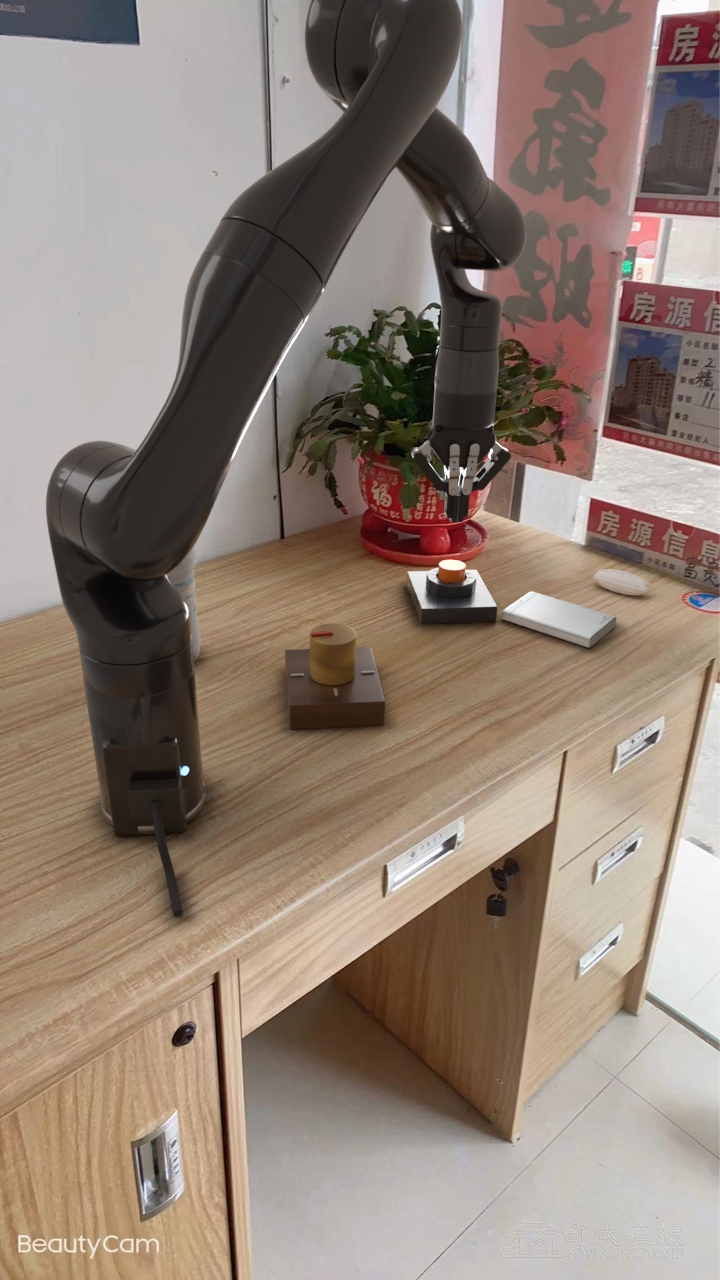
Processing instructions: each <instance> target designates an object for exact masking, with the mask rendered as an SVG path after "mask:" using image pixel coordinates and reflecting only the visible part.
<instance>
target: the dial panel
mask: <svg viewBox="0 0 720 1280" xmlns="http://www.w3.org/2000/svg"><path fill="white" fill-rule="evenodd" d="M284 659H285V681H286V682H285V683H286V695H287V697H286V698H287V708H288V719H289V720H288V722H289V723H288V724H289V730H304V729H305V730H306V729H308V730H309V729H328V728H329V729H330V728H351V727H352V728H353V727H371V726H372V727H374V726H384V725H385V711H386V700H385V697H384V693H383V689H382V684H381V681H380V677H379V673H378V669H377V666H376V661H375V657H374V653H373V650H372V647H371V646H363V647H362V646H359V647H357V646H356V668H355V677H354V678H353V679H352V680H351V681H350V682H348V683H345V684H341V685H324V684H320V683H318V682H316V681H314V680H313V679H312V678H311V676H310V648H302V649H301V648H300V649H299V648H298V649H285V650H284Z"/></svg>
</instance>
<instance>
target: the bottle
mask: <svg viewBox="0 0 720 1280" xmlns="http://www.w3.org/2000/svg"><path fill="white" fill-rule="evenodd" d="M196 556H197V551H196V547H195V546H194V547H193V548H192V550H191V551H190V553H189V554H188V555H187V557H186V558H185V559H184V560H183V561H182V562H181V563H180V564H179V565H178V566H177V567H176V568H175V569H174V570H172V571H171V572H170V573H168V574H167V575H168V577H169V579H170V580H171V582H172V583H173V585H174V586H175V587H176V589H177V590H178V591H179V593H180V594H181V595H182V596H183V598H184V599H185V601H186V603H187V605H188V607H189V611H190V617H191V629H192V644H193V657H194V662H195V661H196V660H197V659H198V658H199V655H200V652H201V641H202V640H201V631H200V623H199V617H198V612H197V611H198V610H197V597H196V584H195V583H196V582H195V572H194V571H195V570H194V569H195V568H196V565H197V560H196Z"/></svg>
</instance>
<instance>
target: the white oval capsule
mask: <svg viewBox="0 0 720 1280" xmlns="http://www.w3.org/2000/svg"><path fill="white" fill-rule="evenodd" d="M593 581H594V582H595V583H596V584H598V585H599V586H600V587H602V588H604V589H606V590H609V591H611V592H614V593H617V594H622V595H628V596H642V595H646V594H648V592H650V591H652V585H651V583H650V582H649V581H647V580H646V579H644V578H643V577H640V576H638V575H636V574H634V573H632V572H628V571H624V570H621V569H610V568H607V569H603V568H601V569H599V570H598V571H597V572H596V573H594V575H593Z"/></svg>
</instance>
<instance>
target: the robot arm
mask: <svg viewBox="0 0 720 1280" xmlns="http://www.w3.org/2000/svg"><path fill="white" fill-rule="evenodd" d="M462 16H463V15H462V11H461V8H460V5H459V3H458V0H310V3H309V6H308V10H307V14H306V19H305V26H304V51H305V56H306V61H307V64H308V68H309V71H310V72H311V76H312V77H313V79H314V81H315V83H316V85H317V86H318V88H319V89H320V90H321V91H322V92H323V94H325V96H326V97H327V98H328V100H330V101H331V102H332V103H333V104H334V105H335V106H336V107H337V108H339V109H340V111H341V112H342V114H341V115H340V117H338V119H337V120H335V122H334V123H333V124H332V126H330V128H329V129H327V130H326V132H324V133H323V134H322V135H321V136H320V137H318V138H317V139H316V140H315V141H313V142H312V143H310V144H309V145H308V146H307V147H305V148H303V149H302V150H300V151H299V152H297V153H295V154H294V155H293V156H290V157H289V158H288V159H286V160H285V161H283V162H282V163H280V164H279V165H277V166H275V167H274V168H273V169H271V170H270V171H269V172H267V173H266V174H264V175H263V176H261V177H260V178H258V179H257V180H256V181H255V182H253V183H252V184H251V185H250V186H248V187H247V188H246V189H244V191H242V193H240V195H238V196H237V197H236V198H235V199H234V200H233V202H231V204H230V205H229V206H228V208H227V210H226V211H225V212H224V214H223V216H222V217H221V219H220V221H219V223H218V225H217V226H216V228H215V230H214V231H213V234H212V235H211V237H210V239H209V240H208V243H207V244H206V246H205V247H204V249H203V251H202V253H201V255H200V256H199V258H198V260H197V263H196V264H195V266H194V268H193V270H192V272H191V275H190V277H189V280H188V283H187V286H186V291H185V295H184V300H183V307H182V316H181V326H180V327H181V328H180V344H179V354H178V362H177V369H176V372H175V377H174V380H173V383H172V386H171V388H170V391H169V393H168V395H167V397H166V399H165V401H164V404H163V405H162V407H161V408H160V410H159V412H158V414H157V416H156V418H155V420H154V421H153V423H152V425H151V426H150V428H149V430H148V432H147V434H146V435H145V437H144V438H143V440H142V441H141V443H140V444H139V445H138V447H137V449H135V448H132V447H129V446H127V445H124V444H121V443H118V442H114V441H109V440H91V441H88V442H87V441H86V442H84V443H81V444H78V445H77V446H75V447H73V448H71V449H70V450H69V451H67V452H66V453H65V454H64V455H63V456H61V458H60V459H59V460H58V462H57V463H56V465H55V467H54V468H53V471H52V472H51V475H50V478H49V481H48V483H47V488H46V496H45V517H46V524H47V532H48V537H49V542H50V543H49V544H50V549H51V554H52V558H53V564H54V569H55V573H56V579H57V583H58V588H59V593H60V598H61V600H62V605H63V607H64V610H65V612H66V614H67V616H68V618H69V621H70V622H71V624H72V626H73V627H74V630H75V634H76V638H77V644H78V651H79V657H80V665H81V671H82V678H83V686H84V692H85V700H86V706H87V707H86V708H87V712H88V713H87V714H88V720H89V727H90V733H91V740H92V747H93V753H94V761H95V767H96V773H97V780H98V785H99V792H100V807H101V813H102V817H103V818H104V819H105V821H106V822H107V823H108V824H110V826H111V827H112V829H113V830H112V831H113V835H114V836H115V837H123V836H124V837H125V836H138V835H139V836H140V835H141V836H142V835H145V836H146V835H155V840H156V846H157V849H158V853H159V857H160V860H161V864H162V868H163V872H164V875H165V879H166V880H165V881H166V884H167V889H168V893H169V898H170V899H169V900H170V904H171V909H172V915H173V916H174V917H175V918H179V917H181V916H182V915H184V911H183V907H182V906H183V905H182V902H181V896H180V891H179V886H178V882H177V878H176V874H175V869H174V866H173V862H172V859H171V855H170V852H169V848H168V844H167V840H166V834H177V833H184V832H185V831H186V829H187V824H188V823H189V822H191V821H192V820H193V819H195V817H197V816H198V815H199V814H200V812H201V811H202V809H203V808H204V806H205V803H206V797H207V796H206V794H207V793H206V785H205V781H204V771H203V770H204V769H203V760H202V748H201V747H202V746H201V736H200V721H199V710H198V698H197V696H198V695H197V686H196V685H197V684H196V675H195V661H194V657H193V644H192V629H191V617H190V611H189V607H188V605H187V603H186V601H185V599H184V598H183V596H182V595H181V594H180V593H179V591H178V590H177V589H176V587H175V586H174V585H173V583H172V582H171V580H170V579H169V577H168V575H167V574H168V573H170V572H171V571H172V570H174V569H175V568H176V567H177V566H178V565H179V564H180V563H181V562H182V561H183V560H184V559H185V558H186V557H187V555H188V554H189V553H190V551H191V550H192V548H193V547H195V545H196V544H197V542H198V540H199V538H200V536H201V534H202V533H203V530H204V528H205V526H206V524H207V522H208V520H209V518H210V516H211V513H212V510H213V508H214V506H215V503H216V501H217V499H218V496H219V495H220V492H221V489H222V487H223V484H224V482H225V479H226V478H227V475H228V472H229V470H230V468H231V466H232V463H233V461H234V459H235V456H236V454H237V452H238V449H239V447H240V445H241V443H242V441H243V439H244V437H245V434H246V432H247V430H248V428H249V427H250V424H251V422H252V421H253V418H254V417H255V415H256V412H257V411H258V409H259V407H260V405H261V403H262V401H263V400H264V398H265V396H266V394H267V392H268V390H269V388H270V386H271V384H272V382H273V381H274V378H275V376H277V375H276V374H277V372H278V371H279V369H280V367H281V365H282V363H283V361H284V359H285V358H286V356H287V354H288V352H289V351H290V350H291V347H292V346H293V344H294V343H295V341H296V340H297V338H298V337H299V334H300V333H301V331H302V330H303V328H304V326H305V325H306V323H307V321H308V320H309V317H310V315H311V314H312V312H313V310H314V309H315V307H316V305H317V304H318V302H319V299H320V298H321V296H322V294H323V292H324V290H325V288H326V286H327V285H328V282H329V281H330V279H331V276H332V274H333V272H334V271H335V269H336V267H337V264H338V263H339V261H340V259H341V257H342V255H343V254H344V251H345V250H346V248H347V247H348V244H349V243H350V241H351V239H352V237H353V235H354V234H355V232H356V230H357V228H358V227H359V226H360V223H361V222H362V220H363V219H364V217H365V215H366V213H367V212H368V210H369V209H370V206H371V205H372V203H373V202H374V200H375V198H376V197H377V195H378V193H379V192H380V190H381V189H382V187H383V186H384V184H385V183H386V181H387V180H388V178H389V177H390V175H392V173H393V171H394V170H395V169H396V171H397V172H398V173H399V174H400V175H401V177H402V178H403V180H404V181H405V182H406V184H407V185H408V187H409V189H410V190H411V191H412V193H413V195H414V196H415V198H416V200H417V201H418V203H419V205H420V206H421V208H422V209H423V211H424V213H425V215H426V216H427V218H428V220H429V221H430V222H431V225H430V230H429V243H430V249H431V251H430V252H431V256H432V260H433V265H434V270H435V275H436V281H437V285H438V292H439V293H438V294H439V300H440V311H441V313H440V314H441V315H440V332H439V345H438V346H439V347H438V354H437V358H436V363H435V374H434V378H433V379H434V381H433V382H434V393H433V394H434V395H433V396H434V397H433V412H432V413H433V414H432V425H431V426H432V427H431V429H430V431H429V433H428V434H427V440H426V441H425V442H424V443H423V444H422V445H420V446H419V447H417V446H416V447H412V448H411V450H410V455H411V457H412V458H413V460H414V462H415V463H416V464H417V465H418V467H419V469H421V471H422V472H423V474H424V475H425V476H426V478H427V480H428V481H429V482H430V483H431V485H432V486H433V487H434V489H435V490H436V491H437V492H443V493H444V509H443V511H444V514H445V516H446V518H447V519H448V520H449V521H450V523H463V522H464V519H466V518H467V517H468V516H469V508H470V497H471V494H472V493H473V492H475V491H483V490H485V489H486V487H488V485H489V484H490V483H491V482H492V481H493V479H494V478H495V477H496V476H497V475H498V473H500V471H501V470H502V469H503V468H504V467H505V465H507V464H508V462H509V461H510V460H511V458H512V454H511V452H510V451H509V450H508V449H507V448H506V447H505V446H502V445H500V444H499V442H497V435H496V433H495V430H494V425H495V417H496V416H495V415H496V405H497V404H496V403H497V395H498V384H499V374H500V358H499V356H500V355H499V354H500V353H499V351H500V350H499V349H500V348H499V347H500V336H501V329H502V328H501V326H502V317H503V304H502V301H501V299H500V298H499V297H498V296H497V295H495V294H493V293H490V292H487V291H483V290H481V289H479V288H477V287H475V286H473V285H472V283H471V282H470V280H469V278H468V275H467V272H466V270H471V271H487V272H502V271H506V270H508V269H510V268H511V267H513V266H514V265H515V264H517V262H518V261H519V260H520V258H521V257H522V255H523V253H524V250H525V247H526V244H527V243H526V242H527V226H526V222H525V218H524V217H525V216H524V214H523V212H522V210H521V208H520V206H519V205H518V203H517V202H516V201H515V200H514V198H513V197H512V196H511V195H510V194H508V192H506V191H505V190H504V188H502V187H501V186H499V185H498V184H497V183H496V182H495V181H494V180H493V179H491V178H490V177H489V176H488V174H487V172H486V170H485V168H484V165H483V164H482V161H481V160H480V157H479V155H478V153H477V151H476V149H475V147H474V145H473V144H472V142H471V141H470V139H469V138H468V137H467V135H465V133H464V132H463V131H462V130H461V129H460V127H459V126H457V125H456V123H455V122H454V121H452V120H451V119H450V118H449V117H448V116H447V115H445V114H444V113H443V112H442V111H441V110H440V109H439V108H437V107H438V105H439V103H440V101H441V99H442V97H443V95H444V94H445V92H446V91H447V88H448V87H449V86H448V85H449V83H450V81H451V79H452V76H453V73H454V70H455V69H456V65H457V62H458V58H459V54H460V50H461V44H462V37H463V17H462ZM432 451H433V452H434V453H435V455H436V457H437V459H439V461H440V462H441V464H442V465H443V470H444V478H442V477H440V475H439V474H438V473H437V471H436V470H435V469H434V467H433V466H432V465H431V463H430V462H431V461H433V455H432ZM487 455H488V460H486V462H485V463H484V464H483V465H482V467H480V468H479V470H478V471H477V466H479V465H480V463H482V461H483V460H484V459H485V458H486V456H487ZM476 471H477V472H476Z"/></svg>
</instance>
